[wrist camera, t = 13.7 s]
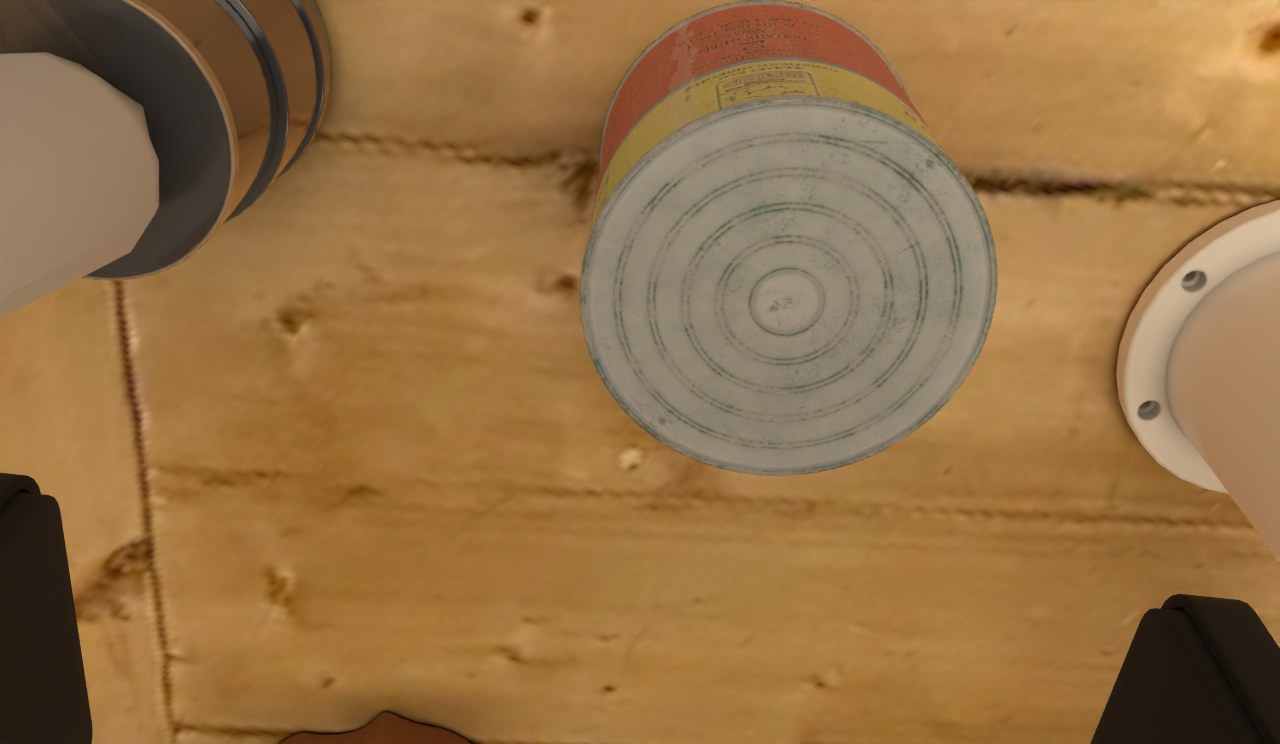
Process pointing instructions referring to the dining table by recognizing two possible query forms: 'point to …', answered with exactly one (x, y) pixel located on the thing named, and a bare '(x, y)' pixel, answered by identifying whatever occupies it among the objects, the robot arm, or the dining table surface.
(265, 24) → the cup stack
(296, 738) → the plant
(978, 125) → the dining table surface
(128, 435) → the dining table surface
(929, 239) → the canned food
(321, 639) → the dining table surface
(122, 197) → the salt shaker
